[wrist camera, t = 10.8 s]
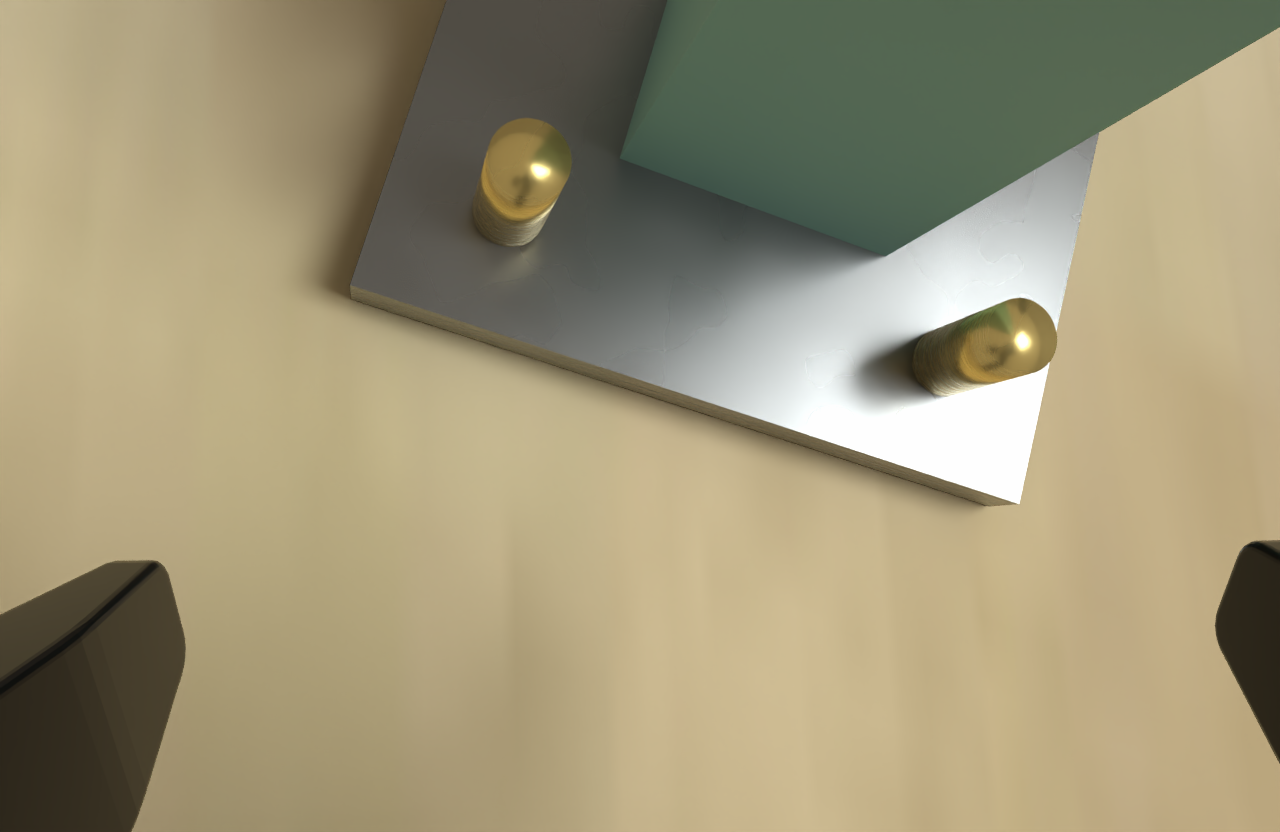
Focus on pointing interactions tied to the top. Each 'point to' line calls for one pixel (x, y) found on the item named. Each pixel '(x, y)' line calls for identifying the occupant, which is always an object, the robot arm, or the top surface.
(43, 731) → the robot arm
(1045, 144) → the tea tin
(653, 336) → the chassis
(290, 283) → the top surface
